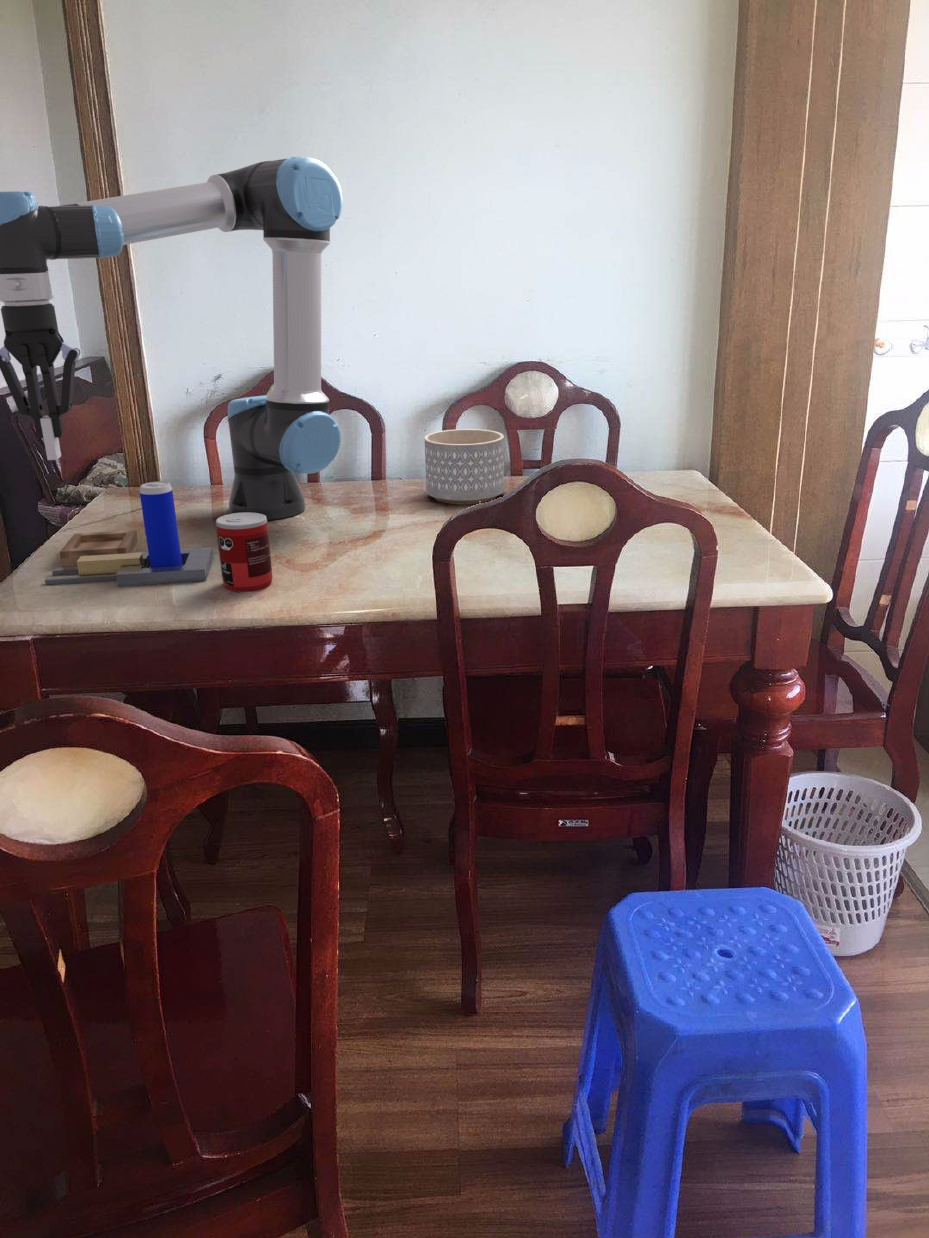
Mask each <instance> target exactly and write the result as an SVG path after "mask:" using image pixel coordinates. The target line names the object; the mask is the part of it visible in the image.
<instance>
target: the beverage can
mask: <svg viewBox="0 0 929 1238" xmlns="http://www.w3.org/2000/svg"><path fill="white" fill-rule="evenodd" d="M173 493H174V492H173V487H172V486H171V483H170V482H168V481H164V480H163V481H159V480H158V481H150V482H145V483H142V484H141V485H140V489H139V498H140V504H141V510H142V511H141V512H142V518H143V524H144V525H143V526H144V533H145V537H146V538H145V540H146V546H147V551H148V554H149V561H150V567H149V568H157V567H173V566H183V565H182V559H181V551H180V549H181V546H180V545H181V544H180V543H181V542H180V537H179V529H178V523H177V522H178V521H177V515H176V514H177V513H176V507H175V498H174V494H173Z"/></svg>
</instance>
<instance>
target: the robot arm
mask: <svg viewBox="0 0 929 1238" xmlns="http://www.w3.org/2000/svg"><path fill="white" fill-rule="evenodd" d="M343 204H344V203H343V192H342V188H341V184H340V183H339V181H338V178H337V176H335V174H334V173H333V171H331V169H330V168H329V167H328V165H326V164H325V163H323V162H322V161H320V160H319V159H316V158H312V157H303V156H298V157H297V156H291V157H289V158H281V159H274V160H266V161H265V160H264V161H259V162H256V163H253V164H250V165H247V166H243V167H242V168H238V169H235V170H231V171H226V172H223V173H219V174H218V173H217V174H212V175H210V176H209V177H208V179H207V181H206V182H201V183H195V184H188V185H181V186H175V187H169V188H164V189H157V190H151V191H149V190H148V191H143V192H139V193H138V192H137V193H131V194H124V195H119V196H113V197H106V198H100V199H95V200H88V201H82V202H81V201H80V202H76V203H75V202H74V203H73V204H72V203H71V204H70V203H69V204H64V205H56V206H47V205H39V202H38V201H37V197H36V195H35V194H34V193H33V192H32V191H14V190H13V191H12V190H11V191H10V190H9V191H0V302H1V303H3V304H4V305H2V306H1V308H0V314H1V318H2V323H3V328H4V334H5V336H4V339H3V346H2V347H0V372H1V373H2V374H1V375H2V377H3V379H4V381H5V384H6V385H7V388H8V390H9V392H10V395H11V396H12V399H13V401H14V404H15V406H16V408H17V410H18V413H19V414H21V415H22V416H23V415H25V416H29V417H31V418H32V419H33V423H34V429H35V433H36V434H35V435H36V437H37V438H38V439H43V442H44V448H45V453H46V454H45V455H46V458H47V461H57V460H59V459H60V458H61V457H62V451H61V446H60V440H59V438H62V437H64V433H65V431H64V426H63V425H64V424H63V421H62V420H63V419H62V416H63V414H66V413H68V412H69V411H71V410H72V408H73V398H74V389H75V388H74V387H75V374H76V363H77V362H78V359H79V357H80V356H81V350H80V349H79V348H77V347H72V346H70V345H68V344H66V343H65V341H64V338H63V337H62V335H61V334H60V332H59V326H58V322H57V313H56V310H55V309H56V308H55V305H53V303H50V300H52V299H53V296H54V295H53V291H52V286H51V285H52V284H51V280H50V274H49V267H48V264H47V263H48V260H51V261H52V260H70V259H71V260H72V259H73V260H76V259H79V260H80V259H81V260H82V259H97V258H98V259H99V260H103V258H112V257H117V256H119V255H120V254H121V252H122V251H123V248H124V246H126V245H131V244H135V243H140V242H141V243H142V242H147V241H151V240H152V241H153V240H157V239H158V240H159V239H164V238H168V237H175V236H179V235H185V234H191V233H195V232H196V233H197V232H201V231H202V232H203V231H207V230H212V229H219V230H220V231H221V232H223V233H224V232H225V233H228V232H236V231H244V230H245V231H248V230H250V231H251V230H252V231H263V233H262V234H263V241H264V242H265V243H266V245H267V246H268V247H269V248H270V249H271V252H272V253H271V254H272V310H273V311H272V316H273V317H272V318H273V319H272V321H273V389H272V391H271V392H269V394H266V395H265V394H264V395H258V396H249V397H248V396H247V397H242V398H237V399H232V400H231V401H230V402H229V403H228V405H227V422H228V429H229V435H230V437H229V438H230V447H231V455H232V462H233V473H234V475H233V476H234V478H233V481H232V486H231V491H230V496H229V499H228V500H229V501H228V508H229V514H233V513H244V512H251V513H259V514H263V515H265V516H266V518H267V521H270V520H279V519H285V518H289V517H293V516H296V515H299V514H302V513H303V512H304V511H305V509H306V503H305V496H304V494H303V492H302V488H301V486H300V483H299V481H298V480H297V477H296V474H297V473H298V474H300V473H301V474H311V475H312V474H315V473H316V474H317V473H319V472H321V471H323V470H325V469H326V468H327V467H329V465H330V464H331V463H332V462H333V461H334V460H335V458H336V457H337V455H338V453H339V450H340V446H341V442H342V441H341V440H342V439H341V436H342V435H341V430H340V426H339V425H338V423H337V422H336V421H335V419H334V418H333V417H332V416H331V415H330V399H329V397H328V396H327V395H326V394H325V392H323V391H322V253H323V251H324V250H325V249H326V248H327V247H328V246H330V244H331V228H332V227H333V226H334V225H336V222H337V220H339V218H340V216H341V214H342V209H343ZM60 352H61V358H62V359H63V360H64V362H63V369H62V370H63V371H62V383H61V395H60V399H59V393H58V387H57V382H56V376H55V364H54V363H55V362H56V359H57V357H58V356H59V354H60ZM10 354H11V355H10ZM11 356H12V357H13V358H14V359H15V360H16V361H17V363H19V364H20V365H21V367H22V373H23V374H24V379H25V384H26V389H27V390H26V391H27V395H28V396H27V395H26V393H25V391H24V388H23V386H22V383H21V381H20V379H19V377H18V374H17V373H16V370H15V367H14V366H13V364H12V362H11V360H12V358H11ZM38 367H39V371H40V373H41V376H42V382H43V387H44V388H43V389H44V393H45V399H46V403H47V409H48V414H47V415H45V413H46V410H44V405H43V399H42V395H41V394H42V393H41V387H40V384H39V378H38ZM295 473H296V474H295Z"/></svg>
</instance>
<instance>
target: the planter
mask: <svg viewBox="0 0 929 1238" xmlns="http://www.w3.org/2000/svg"><path fill="white" fill-rule="evenodd" d="M423 441H424V463H425V467H424V468H425V488H426V490H425V491H426V494H427V495H428V496H429V497H432V498H434V499H435V500H436V501H438V502H441V503H444V504H451V505H475V503H477V504H483V503H486V502H485V501H488V502H490V501H489V500H491V499H493V500H494V499H496V498H497V496H500V495H502V494H503V493H505V436H504V434H503V433H501V432H499V431H495V430H489V429H478V428H460V429H459V428H458V429H446V430H439V431H435V432H431V433H429V434H426V435H425V436H424V440H423ZM479 501H481V502H479ZM491 501H492V500H491Z"/></svg>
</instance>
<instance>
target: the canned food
mask: <svg viewBox="0 0 929 1238" xmlns="http://www.w3.org/2000/svg"><path fill="white" fill-rule="evenodd" d="M215 528H216V538H217V545H218V554H219V555H218V556H219V562H220V571H221V577H222V579H221V580H222V584H223V586H224V587H225V589H227V590H229V591H233V592H239V593H240V592H243V593H244V592H253V591H259V590H263V589H265V588H268V587H270V585H271V584H272V581H273V568H272V566H273V565H272V557H271V547H270V537H269V536H270V534H269V526H268V520H267V518H266V516H265V515H263V514H259V513H251V512H244V513H233V514H230V513H229V514H225V515H222V516H219V517H218V518H217V519H216V520H215Z"/></svg>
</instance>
